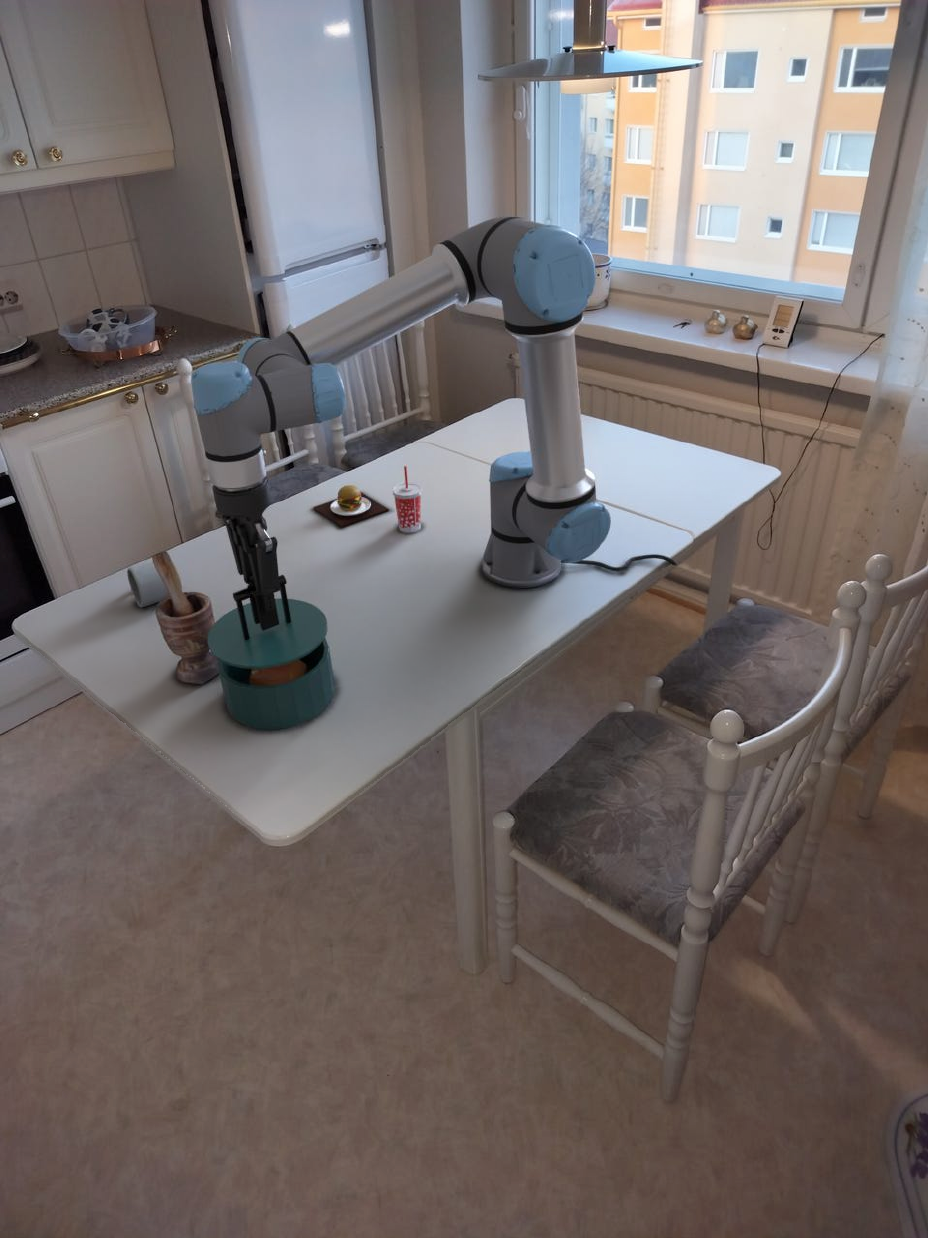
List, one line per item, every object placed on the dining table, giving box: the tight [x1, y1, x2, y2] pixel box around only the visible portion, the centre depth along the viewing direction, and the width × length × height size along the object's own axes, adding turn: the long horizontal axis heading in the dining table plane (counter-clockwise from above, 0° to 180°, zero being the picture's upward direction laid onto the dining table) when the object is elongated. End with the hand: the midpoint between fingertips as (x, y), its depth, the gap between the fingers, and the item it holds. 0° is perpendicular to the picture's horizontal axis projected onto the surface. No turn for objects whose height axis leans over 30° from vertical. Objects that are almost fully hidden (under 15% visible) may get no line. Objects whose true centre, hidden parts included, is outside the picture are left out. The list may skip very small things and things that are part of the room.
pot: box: [217, 637, 335, 731], centre depth 137 cm, size 17×17×8 cm
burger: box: [249, 660, 308, 686], centre depth 137 cm, size 10×9×5 cm
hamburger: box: [313, 484, 390, 529], centre depth 191 cm, size 12×12×6 cm
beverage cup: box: [391, 465, 423, 534], centre depth 180 cm, size 6×6×14 cm
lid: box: [208, 574, 329, 669], centre depth 130 cm, size 18×18×9 cm
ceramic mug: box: [126, 561, 183, 608], centre depth 163 cm, size 11×8×8 cm
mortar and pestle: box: [151, 550, 219, 685], centre depth 140 cm, size 12×9×20 cm
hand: (266, 623), depth 131 cm, fingers closed on lid, 1 cm apart
